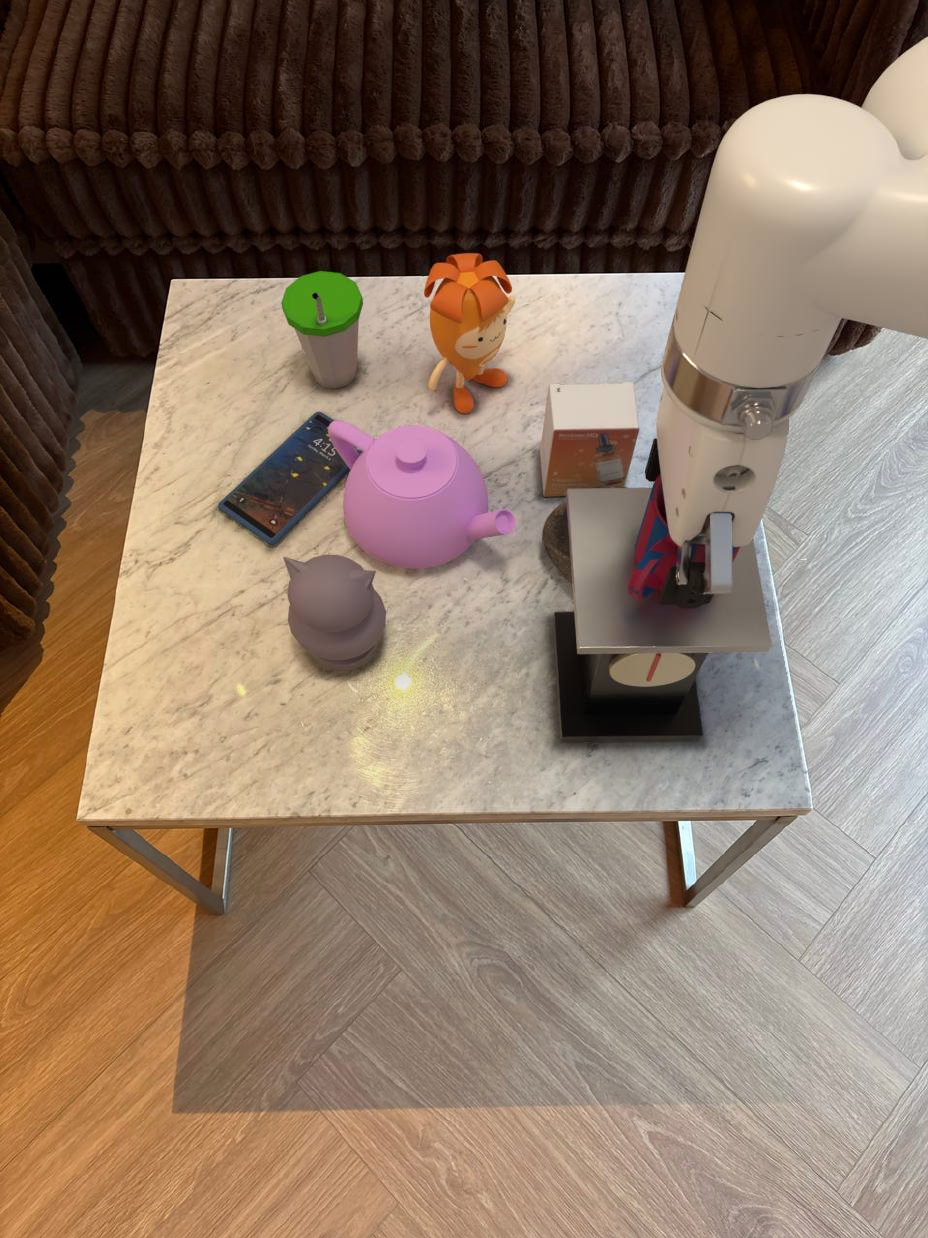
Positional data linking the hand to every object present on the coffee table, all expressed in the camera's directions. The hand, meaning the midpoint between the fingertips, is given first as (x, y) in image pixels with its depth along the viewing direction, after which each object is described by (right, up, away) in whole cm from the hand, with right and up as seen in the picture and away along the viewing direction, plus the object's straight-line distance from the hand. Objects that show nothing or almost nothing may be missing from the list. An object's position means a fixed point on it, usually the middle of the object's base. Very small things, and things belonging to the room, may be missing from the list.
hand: (675, 537), depth 63 cm
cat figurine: (-25, -8, +23) cm, 35 cm away
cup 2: (0, -2, +3) cm, 4 cm away
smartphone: (-31, +8, +31) cm, 44 cm away
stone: (-1, 0, +27) cm, 27 cm away
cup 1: (-28, +21, +37) cm, 51 cm away
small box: (-3, +9, +31) cm, 33 cm away
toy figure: (-14, +19, +37) cm, 44 cm away
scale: (0, -11, +21) cm, 24 cm away
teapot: (-18, +4, +29) cm, 34 cm away
